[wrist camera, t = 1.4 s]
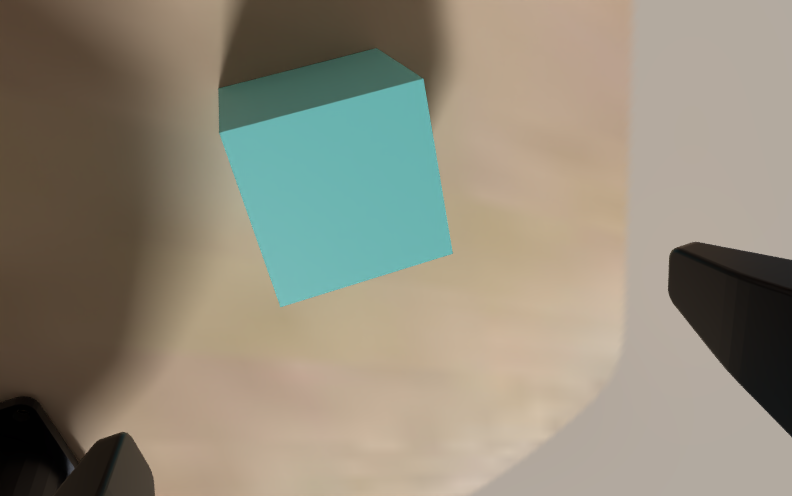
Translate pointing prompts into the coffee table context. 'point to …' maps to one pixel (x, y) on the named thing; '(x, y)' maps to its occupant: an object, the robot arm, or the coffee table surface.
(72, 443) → the coffee table surface
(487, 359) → the coffee table surface
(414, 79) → the teal cube
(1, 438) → the robot arm
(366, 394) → the coffee table surface
